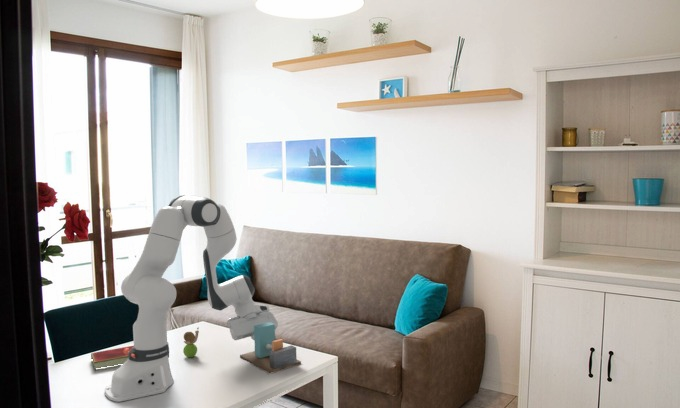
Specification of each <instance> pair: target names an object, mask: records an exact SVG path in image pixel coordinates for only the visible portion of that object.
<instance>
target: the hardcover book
mask: <svg viewBox="0 0 680 408" xmlns="http://www.w3.org/2000/svg"><path fill="white" fill-rule="evenodd" d="M133 346H134V345H131V346H129V345H128V346H124V347H118V348H113V349H107V350H102V351H96V352H91V353H90V357H91V359H93V362H94V364H93V366H94V365H95V367H94V369H95V368H101V367H107V366H114V365H118V364H124V363H125V362H126V361H127V360H128V359H129V357H128V355H126V354H125V353H124V350H125V348H129V349H130V350H131V349H132V348H133ZM91 359H90V360H91ZM93 362H92V363H93Z"/></svg>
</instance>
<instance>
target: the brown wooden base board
mask: <svg viewBox="0 0 680 408" xmlns="http://www.w3.org/2000/svg"><path fill="white" fill-rule="evenodd" d="M239 358H240V359H242V360H244V361H246V362H248V363H249V364H252V365H253V366H255V367H257V368H259V369H261V370H263V371H264V372H266V373H268V374H272V373H277V372H279V371H280V372H281V371H283V370H285V369H290V368H291V367H295V366H299V365H301V364H302V361H301V360H299V359H297V363H294V364H291V365H287V366H284V367H281V368H278V369H275V370H274V369H273V368H271V367H270V356H266V357H263V358H259V357H257V356H255V350H253V351H249V352H247V353H243V354H240V355H239Z"/></svg>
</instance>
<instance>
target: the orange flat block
mask: <svg viewBox="0 0 680 408" xmlns="http://www.w3.org/2000/svg"><path fill="white" fill-rule="evenodd" d="M281 348H284V340H283V339H282V338H278V339H275V341H272V351H274V350H277V349H281Z"/></svg>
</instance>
